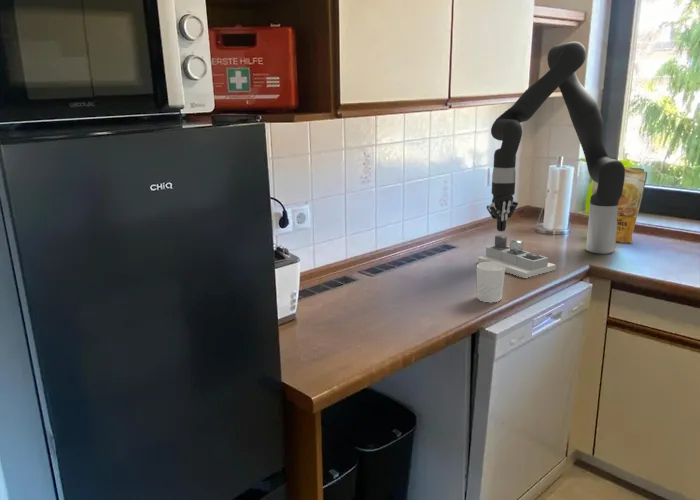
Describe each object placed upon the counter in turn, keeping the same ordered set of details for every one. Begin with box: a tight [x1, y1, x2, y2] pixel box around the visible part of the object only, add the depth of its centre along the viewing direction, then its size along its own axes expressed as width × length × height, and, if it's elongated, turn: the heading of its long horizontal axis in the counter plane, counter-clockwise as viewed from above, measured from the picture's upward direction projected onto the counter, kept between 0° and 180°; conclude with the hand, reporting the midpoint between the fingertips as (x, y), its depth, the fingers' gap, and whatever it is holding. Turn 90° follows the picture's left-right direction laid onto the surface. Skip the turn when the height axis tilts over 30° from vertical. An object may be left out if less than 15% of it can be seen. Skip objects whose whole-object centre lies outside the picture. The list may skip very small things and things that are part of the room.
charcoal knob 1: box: [494, 234, 508, 248], centre depth 197 cm, size 4×4×4 cm
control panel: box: [477, 244, 556, 279], centre depth 192 cm, size 14×21×5 cm, turn 32°
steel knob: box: [509, 238, 524, 253], centre depth 191 cm, size 4×4×4 cm
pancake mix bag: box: [591, 166, 648, 244], centre depth 219 cm, size 7×19×28 cm, turn 44°
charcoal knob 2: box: [526, 252, 540, 260], centre depth 186 cm, size 4×4×4 cm
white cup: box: [476, 262, 506, 303], centre depth 164 cm, size 8×8×10 cm
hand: (501, 230), depth 196 cm, fingers closed
